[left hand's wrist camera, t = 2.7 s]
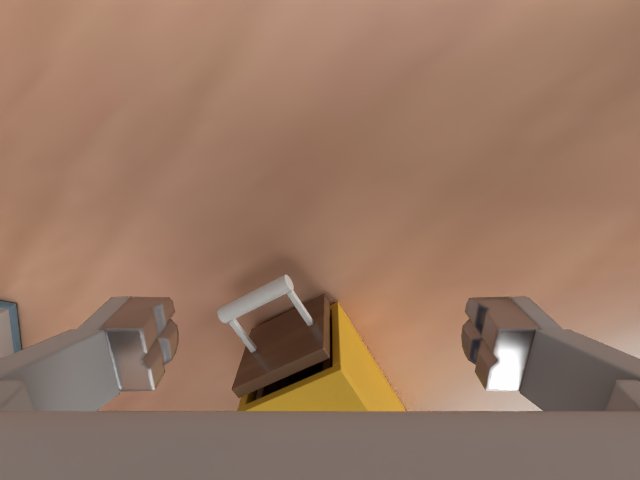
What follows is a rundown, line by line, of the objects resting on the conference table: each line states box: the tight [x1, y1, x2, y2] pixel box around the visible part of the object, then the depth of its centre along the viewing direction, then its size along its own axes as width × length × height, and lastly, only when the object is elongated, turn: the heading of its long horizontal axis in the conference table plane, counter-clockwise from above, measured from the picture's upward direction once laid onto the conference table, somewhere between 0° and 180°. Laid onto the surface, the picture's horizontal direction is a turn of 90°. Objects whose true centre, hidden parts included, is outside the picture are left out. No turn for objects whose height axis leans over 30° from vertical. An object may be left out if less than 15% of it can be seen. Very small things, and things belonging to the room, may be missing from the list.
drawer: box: [217, 274, 333, 400], centre depth 38 cm, size 24×10×9 cm, turn 29°
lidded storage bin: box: [237, 302, 406, 411], centre depth 39 cm, size 19×11×11 cm, turn 29°
